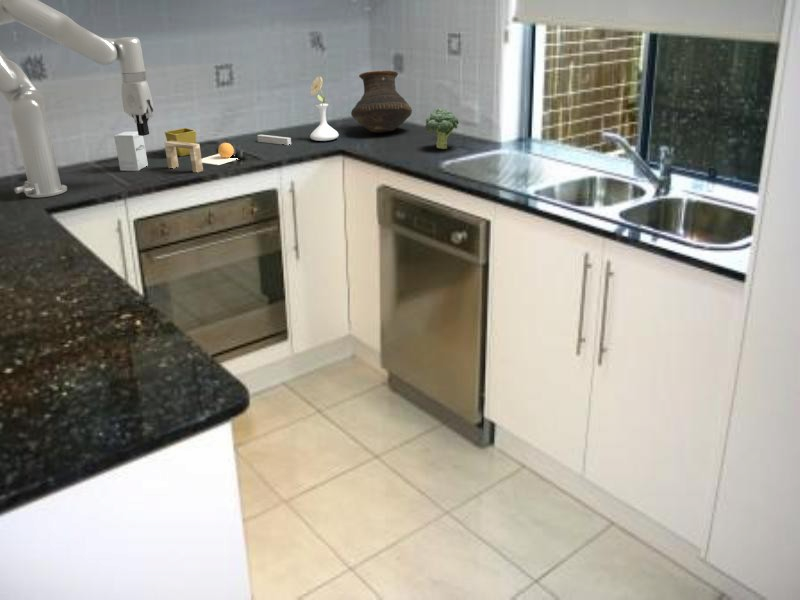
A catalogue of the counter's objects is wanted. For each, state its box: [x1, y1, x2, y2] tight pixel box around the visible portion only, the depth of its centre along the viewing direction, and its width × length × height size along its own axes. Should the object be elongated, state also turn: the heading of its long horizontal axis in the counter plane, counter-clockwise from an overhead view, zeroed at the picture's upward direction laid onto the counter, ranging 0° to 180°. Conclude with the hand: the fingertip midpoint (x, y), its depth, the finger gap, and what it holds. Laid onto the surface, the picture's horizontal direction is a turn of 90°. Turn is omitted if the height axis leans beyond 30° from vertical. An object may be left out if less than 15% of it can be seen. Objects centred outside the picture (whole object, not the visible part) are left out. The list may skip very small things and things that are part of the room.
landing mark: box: [201, 153, 239, 166], centre depth 287 cm, size 13×13×1 cm
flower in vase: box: [309, 76, 340, 142], centre depth 305 cm, size 13×11×25 cm
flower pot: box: [164, 127, 197, 157], centre depth 295 cm, size 9×9×9 cm
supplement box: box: [113, 130, 149, 172], centre depth 277 cm, size 7×7×13 cm
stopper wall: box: [256, 134, 292, 146], centre depth 309 cm, size 2×16×2 cm, turn 56°
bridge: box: [163, 140, 204, 173], centre depth 273 cm, size 3×15×9 cm, turn 56°
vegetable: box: [425, 107, 460, 150], centre depth 285 cm, size 12×13×15 cm
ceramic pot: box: [350, 70, 413, 134], centre depth 314 cm, size 24×24×22 cm
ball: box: [217, 142, 235, 158], centre depth 288 cm, size 6×6×6 cm
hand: (143, 134), depth 258 cm, fingers closed
